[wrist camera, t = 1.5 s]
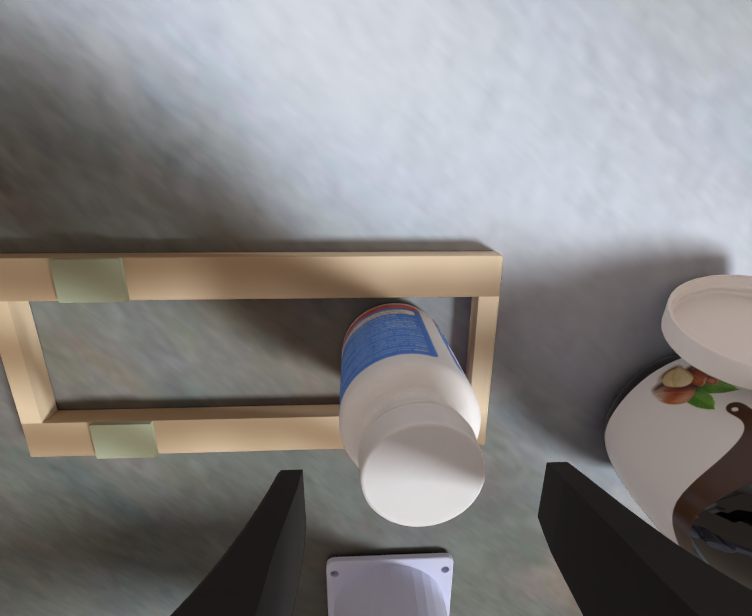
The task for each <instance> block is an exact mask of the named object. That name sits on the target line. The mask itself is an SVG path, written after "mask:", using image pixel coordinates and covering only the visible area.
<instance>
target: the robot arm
mask: <svg viewBox="0 0 752 616" xmlns="http://www.w3.org/2000/svg"><path fill="white" fill-rule="evenodd" d="M538 519H539V522H540V524H541V527H542V530H543V533H544V535H545V538H546V541H547V543H548V546H549V548H550V551H551V553H552V555H553V557H554V559H555V561H556V563H557V565H558V567H559V569H560V571H561V573H562V575H563V577H564V579H565V581H566V583H567V585H568V587H569V589H570V591H571V593H572V595H573V596H574V598H575V600H576V602H577V604H578V606H579V608H580V610H581V612H582V614H583V616H752V590H751V589H749V588H748V587H746V586H744V585H742V584H740V583H739V582H737V581H735V580H733V579H732V578H730V577H728V576H727V575H725V574H723V573H722V572H720V571H718V570H717V569H715V568H713V567H712V566H710V565H709V564H707V563H705V562H704V561H702V560H701V559H699V558H697V557H696V556H694V555H693V554H691V553H689V552H688V551H686V550H685V549H683V548H682V547H680V546H679V545H677V544H676V543H674V542H673V541H672V540H670V539H669V538H667V537H666V536H664V535H663V534H662V533H660V532H659V531H657V530H656V529H654V528H653V527H652V526H650V525H649V524H647V523H646V522H645V521H643V520H642V519H641V518H639V517H638V516H637V515H635V514H634V513H633V512H631V511H630V510H629V509H627V508H626V507H625V506H623V505H622V504H621V503H619V502H618V501H617V500H616V499H614V498H613V497H612V496H610V495H609V494H608V493H607V492H605V491H604V490H603V489H602V488H600V487H599V486H598V485H596V484H595V483H594V482H593V481H591V480H590V479H589V478H588V477H586V476H585V475H584V474H582V473H581V472H580V471H579V470H577V469H576V468H575V467H573V466H572V465H571V464H569V463H568V462H549V463H547V465H546V471H545V477H544V483H543V489H542V494H541V500H540V506H539V512H538ZM305 532H306V514H305V499H304V483H303V470H281V471H280V472H279V473H278V474H277V476H276V478H275V480H274V482H273V483H272V485H271V487H270V489H269V490H268V492H267V494H266V495H265V497H264V498H263V500H262V502H261V503H260V505H259V506H258V508H257V509H256V511H255V512H254V514H253V515H252V517H251V518H250V520H249V521H248V523H247V524H246V526H245V527H244V529H243V530H242V531H241V533H240V534H239V536H238V537H237V538H236V540H235V541H234V542H233V544H232V545H231V546H230V547H229V549H228V550H227V551H226V553H225V554H224V555H223V557H222V558H221V559H220V561H219V562H218V563H217V564H216V565H215V567H214V568H213V569H212V570H211V572H210V573H209V574H208V575H207V576H206V577H205V579H204V580H203V581H202V582H201V583H200V584H199V585H198V587H197V588H196V589H195V590H194V591H193V592H192V593H191V594H190V595H189V596H188V598H187V599H186V600H185V601H184V602H183V603H182V604H181V605H180V606H179V607H178V608H177V609H176V610H175V611H174V612H173V613H172V614H171V615H170V616H292V615H293V610H294V604H295V599H296V594H297V589H298V584H299V579H300V574H301V568H302V563H303V554H304V544H305ZM334 571H336V572H334ZM326 573H327V596H328V616H449V610H450V597H451V585H452V573H453V559H452V556H451V555H450V554H448V553H426V554H400V555H375V556H349V557H332V558H330V559H328V561H327V565H326Z"/></svg>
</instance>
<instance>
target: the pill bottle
mask: <svg viewBox="0 0 752 616" xmlns="http://www.w3.org/2000/svg"><path fill="white" fill-rule="evenodd" d="M480 424H481V414H480V407H479V403H478V400H477V397H476V395H475V393H474V391H473V389H472V387H471V385H470V383H469V381H468V379H467V377H466V375H465V374H464V372H463V370H462V368H461V366H460V365H459V363H458V361H457V359H456V357H455V355H454V354H453V352H452V350H451V348H450V346H449V345H448V343H447V341H446V339H445V337H444V335H443V334H442V332H441V330H440V329H439V327H438V326H437V324H436V323H435V322H434V320H433V319H432V318H431V317H430V316H429V315H427V314H426V313H425V312H423V311H422V310H420V309H418V308H416V307H414V306H411V305H408V304H402V303H387V304H382V305H378V306H376V307H373V308H371V309H369V310H367V311H365V312H364V313H363V314H361V315H360V316H359V317H358V318H357V319H356V320H355V321H354V322H353V323H352V324H351V326H350V327H349V329H348V331H347V333H346V335H345V338H344V342H343V346H342V360H341V384H340V407H339V428H340V436H341V439H342V443H343V445H344V448H345V450H346V451H347V453H348V455H349V456H350V458H351V459H352V460H353V462H354V463H355V464H356V465H357V466H358V467H359V472H360V483H361V488H362V492H363V494H364V497H365V499H366V500H367V502H368V504H369V505H370V506H371V507H372V508H373V509H374V510H375V511H376V512H377V513H378V514H379V515H381V516H382V517H384V518H385V519H387V520H389V521H391V522H395V523H397V524H400V525H406V526H416V527H420V526H430V525H435V524H439V523H442V522H445V521H447V520H450V519H452V518H454V517H456V516H457V515H459V514H460V513H462V512H463V511H464V510H465V509H467V508H468V507H469V506H470V505H471V504H472V503H473V502H474V500H475V499H476V497H477V496H478V494H479V493H480V491H481V489H482V486H483V483H484V479H485V461H484V457H483V454H482V451H481V449H480V446H479V444H478V441H477V438H478V435H479V431H480Z"/></svg>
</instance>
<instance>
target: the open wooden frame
mask: <svg viewBox="0 0 752 616" xmlns="http://www.w3.org/2000/svg"><path fill="white" fill-rule="evenodd" d="M502 264H503V255H501V254H499V253H498V252H496V251H415V252H207V253H0V355H1V358H2V361H3V365H4V368H5V371H6V374H7V378H8V381H9V384H10V388H11V391H12V394H13V398H14V401H15V404H16V408H17V411H18V414H19V417H20V421H21V424H22V427H23V431H24V434H25V437H26V441H27V444H28V447H29V451H30V454H31V457H44V456H82V455H96V457H97V459H105V458H142V457H156V456H157V455H158V454H159V453H194V452H231V451H268V450H306V449H343V448H344V445H343V443H342V439H341V436H340V428H339V407H340V404H332V405H286V406H240V407H195V408H149V409H103V410H58V409H57V406H56V402H55V398H54V395H53V391H52V387H51V383H50V380H49V376H48V372H47V368H46V365H45V361H44V357H43V353H42V350H41V346H40V342H39V338H38V335H37V331H36V327H35V324H34V320H33V316H32V312H31V309H30V305H29V301H59V303H81V302H127V301H129V300H193V299H293V298H394V297H472V300H471V313H470V326H469V338H468V351H467V364H466V377H467V379H468V381H469V383H470V385H471V387H472V389H473V391H474V393H475V395H476V397H477V400H478V403H479V407H480V414H481V424H480V431H479V435H478V438H477V441H478V444H479V445H484V443H485V433H486V424H487V414H488V404H489V394H490V384H491V374H492V364H493V354H494V344H495V334H496V324H497V314H498V304H499V294H500V284H501V274H502Z"/></svg>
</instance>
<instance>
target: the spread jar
mask: <svg viewBox="0 0 752 616" xmlns="http://www.w3.org/2000/svg"><path fill="white" fill-rule="evenodd" d="M661 329H662V332H663V335H664V338H665V339H666V341H667V342H668V344H669V345H670V347H671V348H672V349H673V350H674V351H675V352H676V354H673V355H670V356H667V357H665V358H662V359H660V360H658V361H656V362H654V363H652V364H650V365H648V366H647V367H645V368H644V369H642V370H641V371H640V372H638V373H637V374H636V375H635V376H634V377H633V378H632V379H631V380H630V381H629V382H628V383H627V384H626V385H625V386H624V387H623V389H622V390H621V391H620V393H619V394H618V396H617V397H616V399H615V400H614V402H613V404H612V405H611V407H610V410H609V412H608V415H607V418H606V422H605V429H604V435H605V446H606V450H607V453H608V456H609V459H610V461H611V463H612V465H613V467H614V469H615V472H616V473H617V475H618V477H619V479H620V480H621V482H622V484H623V485H624V486H625V488H626V489H627V491H628V492H629V494H630V495H631V497H632V498H633V499H634V500H635V502H636V503H637V504H638V505H639V507H640V508H641V509H642V510H643V512H644V513H645V514H646V515H647V516H648V517H649V519H650V520H651V521H652V522H653V523H654V525H655V526H656V527H657V528H658V529H659V530H660V532H661V533H662V534H663V535H664V536H666V537H667V538H669V539H670V540H672V541H673V542H674V543H676V544H677V545H679V546H680V547H682V548H683V549H685V550H686V551H688V552H689V553H691V554H693V555H694V556H696V557H697V558H699V559H701V560H702V561H704V562H705V563H707V564H709V565H710V566H712V567H713V568H715V569H717V570H718V571H720V572H722V573H723V574H725V575H727V576H728V577H730V578H732V579H733V580H735V581H737V582H739V583H740V584H742V585H744V586H746V587H748V588H749V589H751V590H752V276H747V275H711V276H705V277H700V278H696V279H693V280H690V281H687V282H685V283H683V284H682V285H680V286H678V287H677V288H676V289H675V290H674V291H673V292H672V293H671V295H670V297H669V299H668V302H667V305H666V308H665V311H664V314H663V317H662V320H661Z"/></svg>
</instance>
